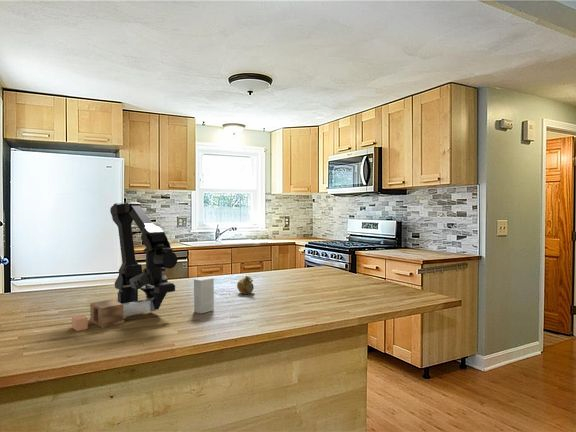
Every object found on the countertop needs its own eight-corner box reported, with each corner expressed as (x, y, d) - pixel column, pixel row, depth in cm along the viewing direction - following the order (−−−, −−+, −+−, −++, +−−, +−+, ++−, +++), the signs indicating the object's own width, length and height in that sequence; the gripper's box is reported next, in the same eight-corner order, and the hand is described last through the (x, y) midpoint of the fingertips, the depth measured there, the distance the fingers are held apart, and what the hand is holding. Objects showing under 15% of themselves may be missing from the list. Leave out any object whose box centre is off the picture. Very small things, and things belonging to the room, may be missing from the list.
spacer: (81, 314, 129) (71, 316, 127) (87, 317, 126) (77, 319, 124) (81, 326, 129) (71, 328, 127) (87, 329, 126) (77, 331, 124)
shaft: (151, 308, 146) (151, 297, 146) (156, 310, 144) (156, 298, 144) (101, 318, 133) (100, 306, 133) (105, 320, 130) (105, 308, 130)
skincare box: (206, 308, 151) (206, 276, 151) (214, 310, 148) (214, 278, 148) (193, 311, 146) (193, 278, 146) (200, 313, 144) (201, 280, 143)
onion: (255, 291, 181) (256, 273, 180) (252, 295, 173) (252, 277, 172) (239, 291, 181) (239, 273, 181) (235, 295, 173) (235, 276, 173)
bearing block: (110, 317, 138) (110, 299, 138) (124, 323, 132) (124, 304, 132) (89, 321, 133) (89, 302, 133) (102, 328, 127) (102, 308, 126)
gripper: (120, 264, 145) (120, 307, 145) (146, 271, 132) (146, 318, 133) (149, 261, 153) (149, 302, 153) (176, 267, 140) (176, 311, 141)
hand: (154, 308), depth 145 cm, fingers closed on shaft, 3 cm apart
